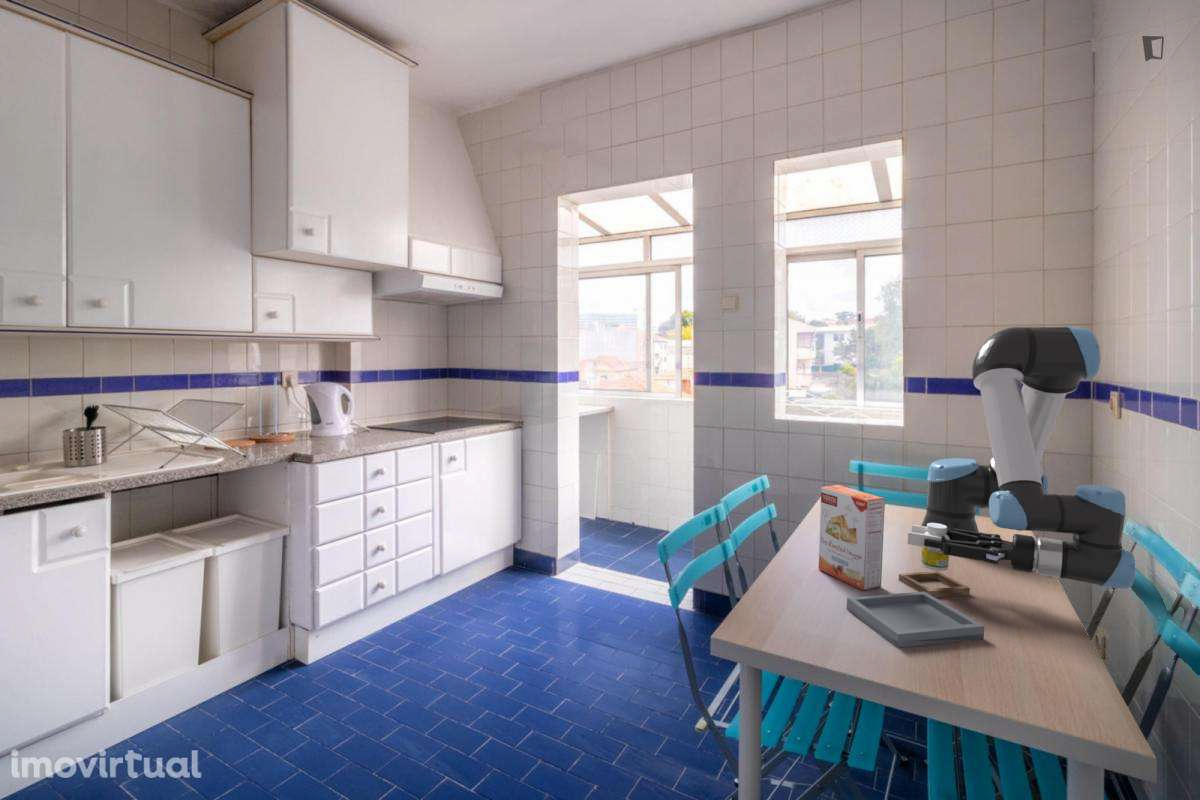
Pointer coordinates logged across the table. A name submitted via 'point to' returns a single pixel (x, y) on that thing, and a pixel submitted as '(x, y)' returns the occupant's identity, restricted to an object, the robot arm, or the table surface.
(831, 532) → the cracker box
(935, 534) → the supplement bottle
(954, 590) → the bottle holder
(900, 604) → the tray
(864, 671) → the table surface
